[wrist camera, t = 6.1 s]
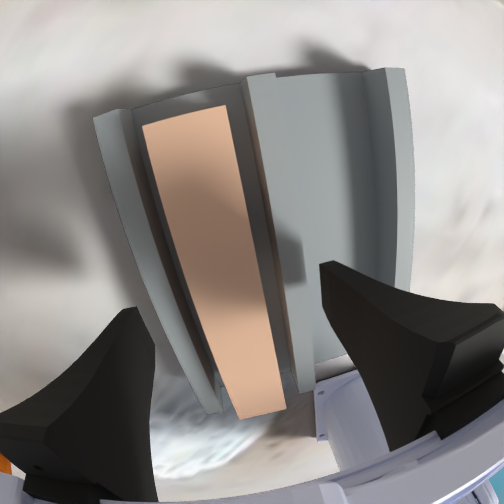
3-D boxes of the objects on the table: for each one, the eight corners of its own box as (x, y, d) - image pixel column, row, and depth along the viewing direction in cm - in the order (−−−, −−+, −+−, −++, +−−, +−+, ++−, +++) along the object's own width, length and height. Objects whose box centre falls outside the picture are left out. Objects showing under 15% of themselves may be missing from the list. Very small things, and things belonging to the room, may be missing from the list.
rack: (384, 329, 19) (404, 357, 16) (197, 379, 18) (198, 416, 16) (377, 73, 12) (413, 69, 9) (105, 120, 11) (80, 122, 9)
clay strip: (273, 363, 17) (286, 408, 14) (232, 373, 17) (239, 419, 14) (219, 109, 11) (225, 105, 8) (159, 124, 11) (142, 126, 8)
